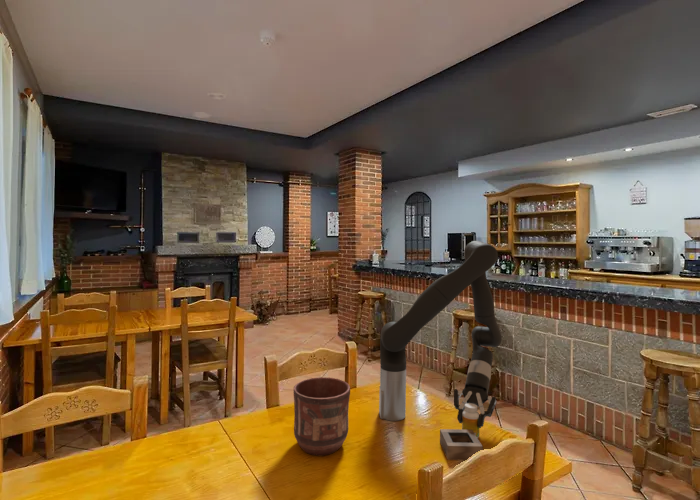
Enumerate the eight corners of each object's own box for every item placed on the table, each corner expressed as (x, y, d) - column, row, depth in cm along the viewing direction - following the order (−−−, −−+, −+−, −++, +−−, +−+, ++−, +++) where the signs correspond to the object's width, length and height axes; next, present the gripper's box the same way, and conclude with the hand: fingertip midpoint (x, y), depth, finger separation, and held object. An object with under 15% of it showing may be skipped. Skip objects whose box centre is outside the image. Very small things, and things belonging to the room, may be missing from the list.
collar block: (447, 459, 112) (447, 445, 112) (439, 441, 122) (440, 429, 122) (482, 460, 112) (482, 446, 112) (471, 442, 122) (472, 429, 122)
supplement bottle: (480, 440, 124) (480, 409, 124) (462, 438, 125) (463, 408, 125) (478, 432, 129) (478, 403, 129) (461, 430, 130) (461, 401, 130)
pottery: (362, 444, 120) (362, 386, 120) (319, 468, 107) (320, 403, 107) (322, 426, 132) (323, 373, 132) (280, 445, 119) (280, 386, 119)
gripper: (455, 367, 137) (445, 414, 126) (499, 375, 129) (491, 425, 119) (459, 378, 141) (449, 424, 131) (501, 386, 134) (494, 435, 124)
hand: (469, 424), depth 125 cm, fingers closed on supplement bottle, 5 cm apart
